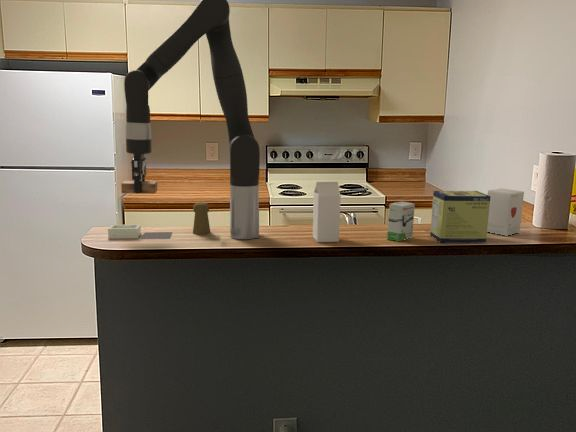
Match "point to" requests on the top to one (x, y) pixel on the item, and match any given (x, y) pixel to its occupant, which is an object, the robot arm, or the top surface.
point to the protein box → (460, 216)
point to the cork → (201, 219)
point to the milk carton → (326, 212)
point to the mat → (157, 235)
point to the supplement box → (505, 211)
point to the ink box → (400, 221)
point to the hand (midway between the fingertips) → (139, 191)
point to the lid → (146, 187)
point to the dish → (124, 231)
